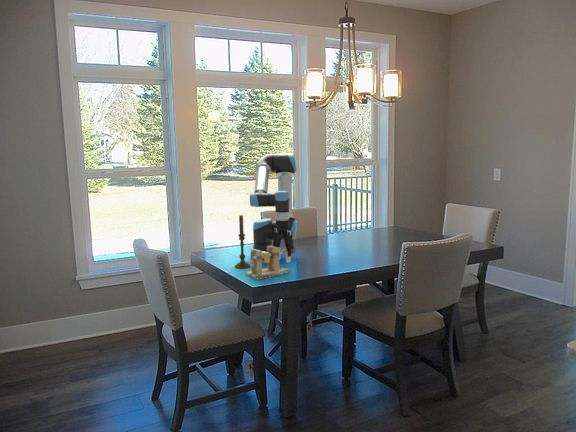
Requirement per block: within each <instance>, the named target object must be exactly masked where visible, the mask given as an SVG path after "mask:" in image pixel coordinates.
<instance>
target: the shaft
mask: <svg viewBox="0 0 576 432" xmlns="http://www.w3.org/2000/svg"><path fill="white" fill-rule="evenodd" d="M291 248H292V247H291ZM286 250H287V249H286V248H285V249H281V250H280V251H279V255H281V256H282V255H286ZM295 253H296V249H295V247H294V249H293V250H291V255H294V254H295ZM269 257H273V256H272V252H270V253H269ZM253 258H254V260H256V255H255V256H253ZM263 258H264V255H263V254H262V259H263Z"/></svg>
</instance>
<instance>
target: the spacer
mask: <svg viewBox="0 0 576 432" xmlns="http://www.w3.org/2000/svg"><path fill="white" fill-rule="evenodd" d="M262 254H263V255H264V258H263V259H262V263H265V264H267V262H270V258H269V252H265V251H262Z"/></svg>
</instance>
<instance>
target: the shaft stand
mask: <svg viewBox="0 0 576 432" xmlns="http://www.w3.org/2000/svg"><path fill="white" fill-rule="evenodd" d="M267 252H269V253H270V252H272V256H273V257H269V258H270V262H267V263H266V267H263V262H262V251H260V250H257V249H253V248H251V249H250V265H251V267H250V271H246V272H245V276H247V275H249V276H248V277H250V276H252V277H251V278H253V277H255V278H254V279H256V278H258V279H259V280H261V279H260V278H264V279H266V278H265V277H268V278H270V277H269V276H272V277H275V276H274V275H276V276H280V275H279V274H281V275H284V274H283V273H285V274H287V273H288V272H289V273H290V269H287V268H284V267H282V266H280V259H279V247H275V246H267ZM255 255H256V260H254V258H253V256H255ZM289 273H288V274H289ZM258 279H257V280H258Z"/></svg>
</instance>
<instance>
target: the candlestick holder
mask: <svg viewBox="0 0 576 432" xmlns="http://www.w3.org/2000/svg"><path fill="white" fill-rule="evenodd" d="M238 217H239V218H238V219H239V220H238V222H239V227H238V228H239V234H238V239H239V241H240V242H239V243H240V245H239V246H240V254H239V256H238V257H239V259H240V261H239V262H237V263H236V264H235V265H234V268H235V267H236V268H235V269H239V268H245V269H249V268H251V263H248V262H246V261H245V259H246V254H245V252H244V250H245V249H244V245H245V243H244V240H246V238H245V236H246V234H245V232H244V215H242V214H240V215H238ZM248 267H249V268H248Z"/></svg>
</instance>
